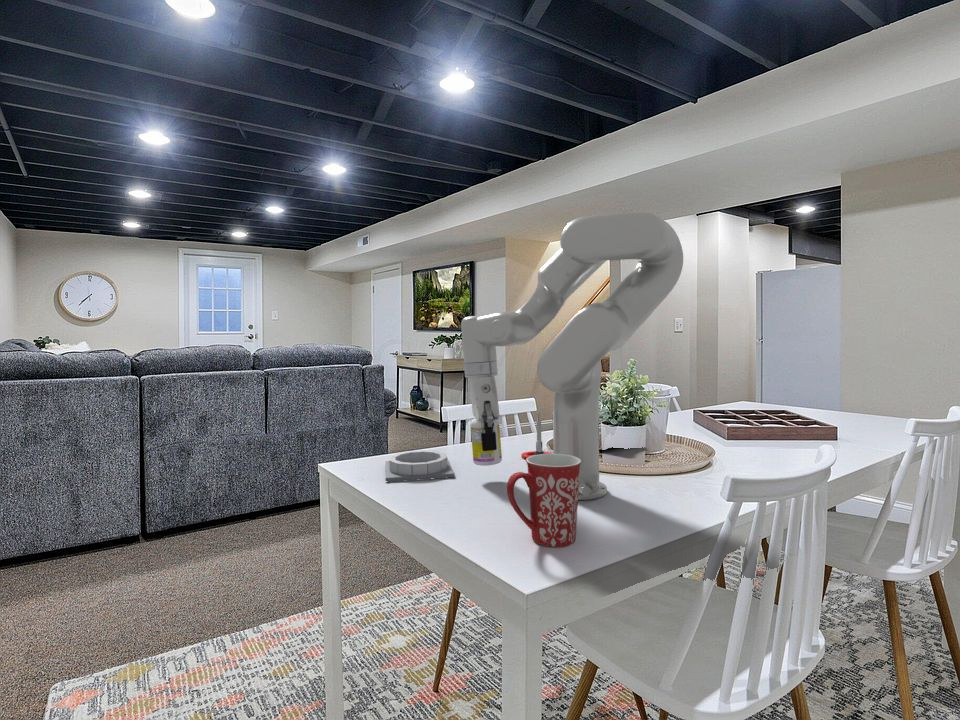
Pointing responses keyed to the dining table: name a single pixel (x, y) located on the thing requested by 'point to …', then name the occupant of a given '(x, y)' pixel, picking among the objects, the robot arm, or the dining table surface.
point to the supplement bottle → (478, 454)
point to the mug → (550, 498)
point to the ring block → (418, 466)
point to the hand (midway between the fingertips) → (486, 446)
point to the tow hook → (538, 442)
